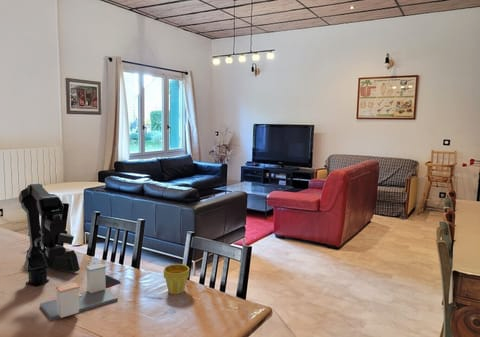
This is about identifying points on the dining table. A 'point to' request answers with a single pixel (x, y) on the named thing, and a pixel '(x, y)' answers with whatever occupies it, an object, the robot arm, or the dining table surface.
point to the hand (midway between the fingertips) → (50, 267)
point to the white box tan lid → (67, 299)
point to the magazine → (65, 262)
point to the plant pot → (176, 278)
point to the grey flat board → (81, 302)
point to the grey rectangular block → (96, 278)
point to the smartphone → (111, 281)
